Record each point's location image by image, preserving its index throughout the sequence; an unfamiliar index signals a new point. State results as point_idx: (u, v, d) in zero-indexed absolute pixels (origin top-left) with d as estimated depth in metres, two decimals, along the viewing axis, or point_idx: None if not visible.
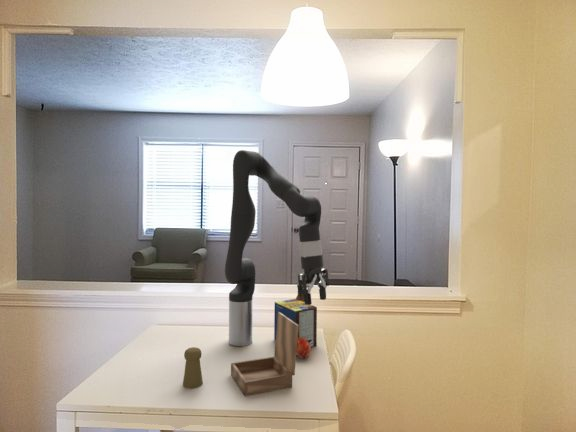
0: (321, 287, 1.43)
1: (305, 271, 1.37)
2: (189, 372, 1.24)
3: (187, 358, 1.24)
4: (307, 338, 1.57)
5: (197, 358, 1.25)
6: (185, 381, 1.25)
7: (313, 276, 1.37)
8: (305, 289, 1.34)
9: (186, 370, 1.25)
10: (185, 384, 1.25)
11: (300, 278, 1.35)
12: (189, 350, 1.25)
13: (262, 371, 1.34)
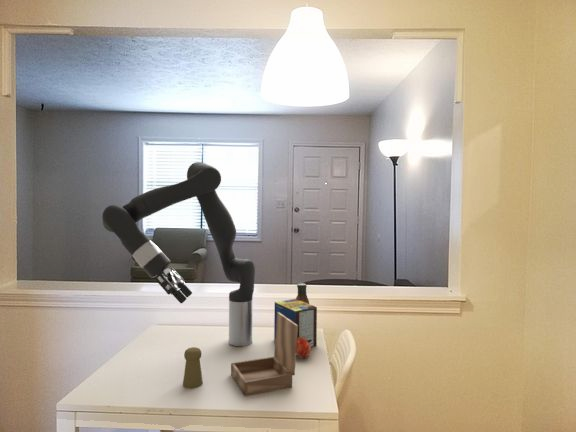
0: None
1: None
2: (189, 372, 1.24)
3: (187, 358, 1.24)
4: (307, 338, 1.57)
5: (197, 358, 1.25)
6: (185, 381, 1.25)
7: None
8: None
9: (186, 370, 1.25)
10: (185, 384, 1.25)
11: None
12: (189, 350, 1.25)
13: (262, 371, 1.34)
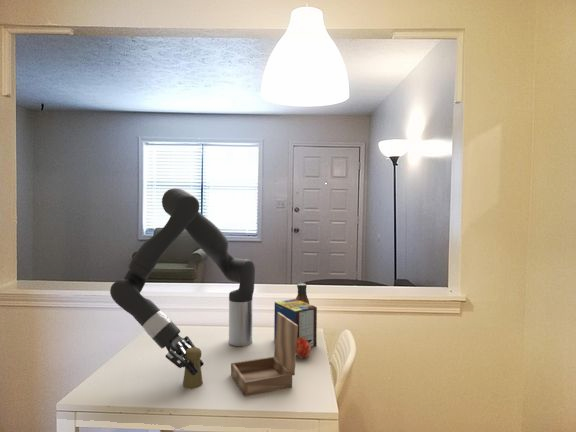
0: None
1: None
2: (189, 372, 1.24)
3: None
4: (307, 338, 1.57)
5: (197, 358, 1.25)
6: (185, 381, 1.25)
7: None
8: None
9: (186, 370, 1.25)
10: (185, 384, 1.25)
11: None
12: (189, 350, 1.25)
13: (262, 371, 1.34)
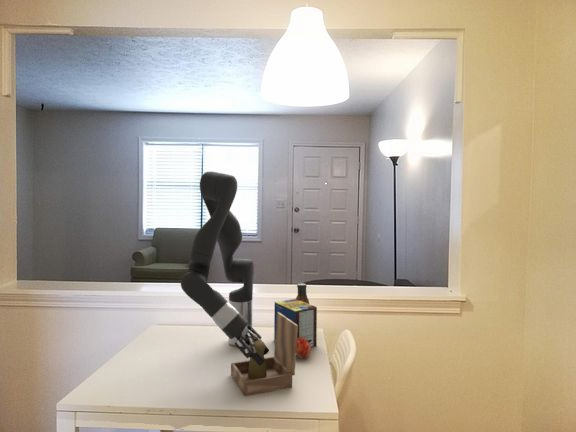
0: None
1: None
2: (255, 365, 1.28)
3: None
4: (307, 338, 1.57)
5: (262, 351, 1.29)
6: (251, 373, 1.29)
7: None
8: None
9: (251, 362, 1.29)
10: (251, 376, 1.29)
11: None
12: (254, 343, 1.29)
13: None
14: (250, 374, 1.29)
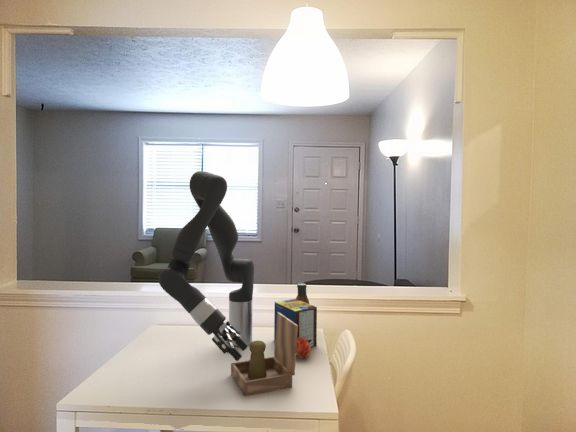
0: None
1: None
2: (255, 364, 1.29)
3: (253, 351, 1.29)
4: (307, 338, 1.57)
5: (262, 351, 1.29)
6: (251, 373, 1.29)
7: None
8: None
9: (252, 362, 1.29)
10: (251, 376, 1.29)
11: None
12: (254, 343, 1.30)
13: None
14: (250, 374, 1.29)
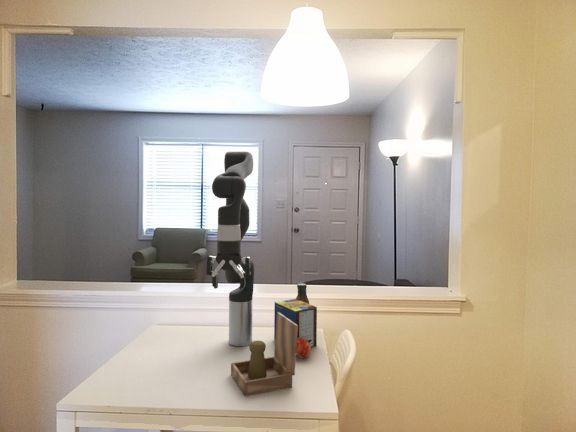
0: None
1: None
2: (255, 364, 1.29)
3: (253, 351, 1.29)
4: (307, 338, 1.57)
5: (262, 351, 1.29)
6: (251, 373, 1.29)
7: (221, 261, 1.31)
8: (207, 271, 1.32)
9: (252, 362, 1.29)
10: (251, 376, 1.29)
11: None
12: (254, 343, 1.30)
13: None
14: (250, 374, 1.29)
